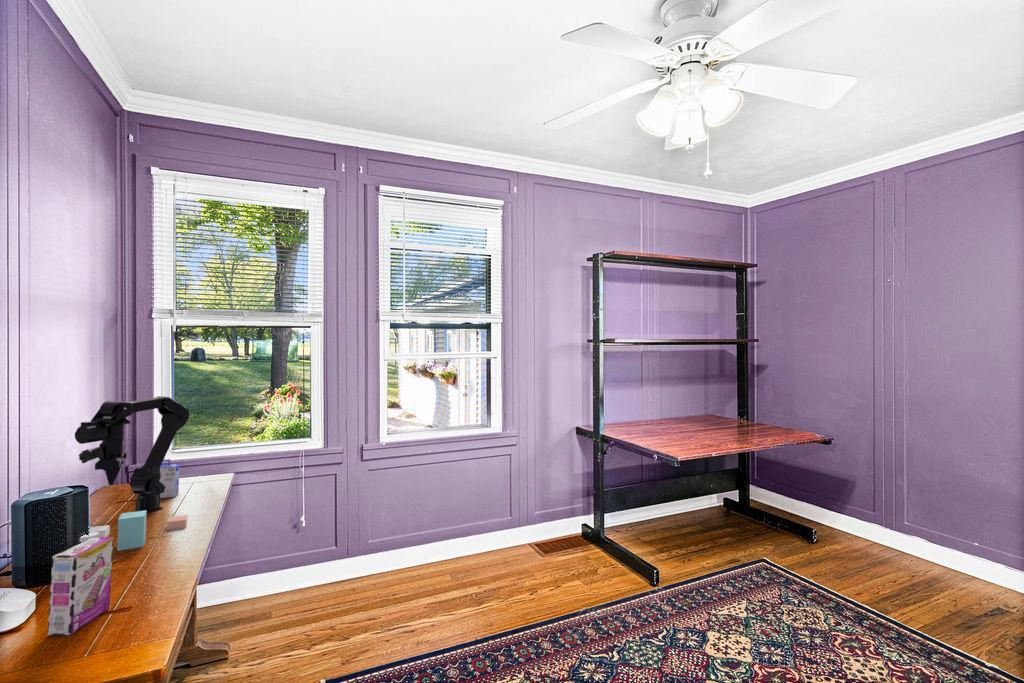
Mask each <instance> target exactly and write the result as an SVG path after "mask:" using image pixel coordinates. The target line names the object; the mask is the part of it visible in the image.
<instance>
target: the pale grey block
mask: <svg viewBox="0 0 1024 683" xmlns="http://www.w3.org/2000/svg"><path fill="white" fill-rule="evenodd" d="M110 530H111V525H110V524H107V525H98V526H90V532H98V533H99V537H109V535H110V532H111V531H110Z"/></svg>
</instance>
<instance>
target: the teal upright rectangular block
mask: <svg viewBox="0 0 1024 683" xmlns="http://www.w3.org/2000/svg"><path fill="white" fill-rule="evenodd" d="M147 516H148V513H147V510H145V511H137V512H133V511H131V512H121V514H120V515H119V517H118V519H117V541H116V551H117V552H121V551H125V550H133V549H139V548H144V546H145V542H146V538H147Z"/></svg>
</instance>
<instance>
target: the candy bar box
mask: <svg viewBox="0 0 1024 683" xmlns="http://www.w3.org/2000/svg"><path fill="white" fill-rule="evenodd" d="M79 543H80V542H79ZM77 544H78V543H77ZM77 544H76V545H74V546H71V547H70V548H67V549H65V550H63V551H61V552H59V553H57V554H55V555H53V556H51V558H52V560H51V573H50V574H51V575H50V591H49V601H48V602H49V604H48V605H49V606H48V620H47V621H48V624H47V636H48V637H49V636H51V637H52V636H53V637H54V636H58V637H59V636H63V637H64V636H66V637H67V636H71V635H73V634H75V633H76V632H78V631H79V630H80V629H81V628H84V627H85V626H86V625H87V624H89V623H90V622H92V621H93V620H94V619H96V618H98V617H99V616H100V615H102V614H104V613H105V612H106V611H108V610H109V609H110V600H111V583H112V582H111V581H112V565H113V548H114V546H113V545H114V537H111V536H110V537H109V536H107V537H99V538H90V539H88V540H86V541H84V542H82V543H80V544H78V545H77Z"/></svg>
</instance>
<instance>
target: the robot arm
mask: <svg viewBox="0 0 1024 683" xmlns="http://www.w3.org/2000/svg"><path fill="white" fill-rule="evenodd" d="M101 404H102V405H101V406H100V408H99V409H98V410H97V412H96V413H95V414H94V416H93V417H92V419H90V421H82V422H80V426H78V427H77V429H76V430H75V432H74V438H75V440H76V442H77V443H78V444H81V445H84V444H88V443H89V444H90V443H94V442H95V443H96V442H100V441H101V443H99V446H98V447H94V448H91V449H89V448H87V449H85V450H82V451H81V452H80V453H79V454H78V458H79V459H78V460H79V461H81V463H82V464H86V463H87V462H90V461H93V460H96V459H98V461H97V462H95V464H94V470H96V471H98V470H103V471H104V472H105V476H106V479H107V483H108V486H113V485H114V484H115V482H116V479H118V476H119V474H120V472H121V470H122V468H123V466H124V464H125V461H122V460H121V458H122V459H125V460H126V459H127V458H128V454H129V452H128V451H127V450H125V449H124V445H125V442H126V440H125V438H124V436H125V425H128V424H129V425H130V424H131V423H132V421H130V420H129V419H127V417H128V418H129V417H130V416H132V415H133V414H135V413H139V412H144V411H145V412H146V411H150V410H154V409H155V410H156V409H157V411H158V412H157V413H159V414H160V416H161V420H160V424H161V429H160V431H159V434H158V436H157V437H156V440H155V442H154V444H153V445H152V448H151V450H150V452H149V453H148V456H147V458H146V460H145V463H144V464H143V465H142V466H141V467H139V468H138V467H136V468H135V469H134V470H133V472H132V475H131V476H130V477H129V483H128V485H129V487H130V489H131V492H132V493H133V495H136V499H135V506H134V508H135V509H133V510H132V512H137V511H145V510H147V514H149V513H153V512H156V511H158V510H163V509H164V508H163V506H161V498H160V494H161V493H164V491H165V486H164V485H163V484H162V483H161V482H160V481H159V480H160V477H161V473H160V466H161V464H162V463H164V461H163V460H165V458H166V455H167V453H168V451H169V449H170V447H171V445H172V442H173V440H174V439H175V436H176V434H177V432H178V431H179V430H181V429H182V428H183V427H184V426H185V425H186V424H187V423H188V421H189V419H190V415H191V413H190V411H189V410H188V408H186V407H184V406H183V405H182V404H180V403H178V402H176V401H175V400H173V399H172V398H171V397H170V396H162V395H161V396H156V397H151V398H143V399H139V400H137V399H136V400H132V401H131V400H130V401H114V400H113V401H110V400H109V401H104V402H102V403H101Z"/></svg>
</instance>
